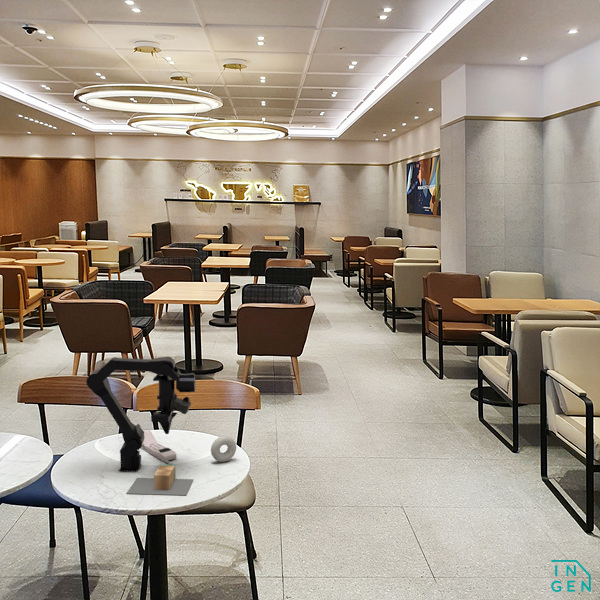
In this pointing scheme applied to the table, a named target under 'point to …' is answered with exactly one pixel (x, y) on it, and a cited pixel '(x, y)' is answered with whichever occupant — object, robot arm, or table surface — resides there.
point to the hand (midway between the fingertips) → (167, 433)
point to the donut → (217, 445)
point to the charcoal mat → (147, 488)
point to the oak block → (164, 477)
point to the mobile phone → (157, 448)
